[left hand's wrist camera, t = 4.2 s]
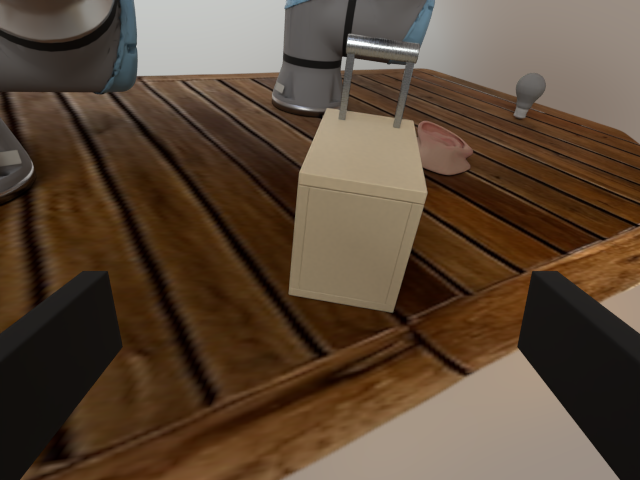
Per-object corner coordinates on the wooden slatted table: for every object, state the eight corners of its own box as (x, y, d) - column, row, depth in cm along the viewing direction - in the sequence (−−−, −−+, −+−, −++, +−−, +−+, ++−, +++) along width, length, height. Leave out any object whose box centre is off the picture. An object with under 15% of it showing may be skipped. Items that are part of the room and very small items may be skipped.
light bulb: (508, 119, 93) (525, 74, 88) (503, 112, 98) (519, 68, 93) (535, 123, 93) (553, 78, 87) (528, 116, 98) (546, 72, 92)
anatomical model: (471, 156, 59) (397, 136, 63) (463, 181, 62) (392, 160, 65) (484, 133, 70) (419, 117, 73) (476, 154, 72) (414, 138, 75)
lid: (325, 116, 45) (336, 27, 40) (411, 129, 44) (432, 41, 40) (297, 184, 30) (309, 58, 26) (424, 204, 30) (460, 79, 25)
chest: (314, 206, 51) (325, 118, 44) (390, 218, 50) (411, 131, 44) (288, 295, 37) (297, 185, 31) (392, 313, 36) (424, 205, 30)
